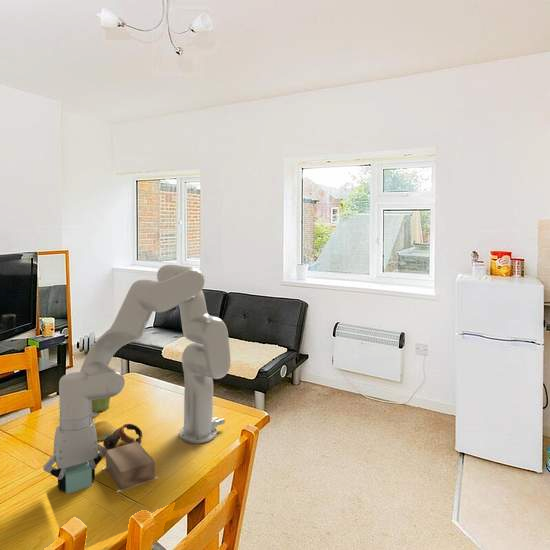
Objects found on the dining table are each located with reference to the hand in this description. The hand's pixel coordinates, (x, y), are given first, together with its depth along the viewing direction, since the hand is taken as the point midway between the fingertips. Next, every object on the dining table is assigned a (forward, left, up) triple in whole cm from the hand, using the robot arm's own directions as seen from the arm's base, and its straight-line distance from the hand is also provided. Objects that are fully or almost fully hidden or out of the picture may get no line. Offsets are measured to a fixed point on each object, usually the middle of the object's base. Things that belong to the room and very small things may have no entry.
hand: (76, 485), depth 109 cm
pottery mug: (-16, -13, -1) cm, 21 cm away
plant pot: (-19, -47, -1) cm, 51 cm away
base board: (-13, +3, -1) cm, 13 cm away
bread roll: (-14, -26, -1) cm, 30 cm away
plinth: (-13, +3, 0) cm, 13 cm away
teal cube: (0, 0, -1) cm, 1 cm away
